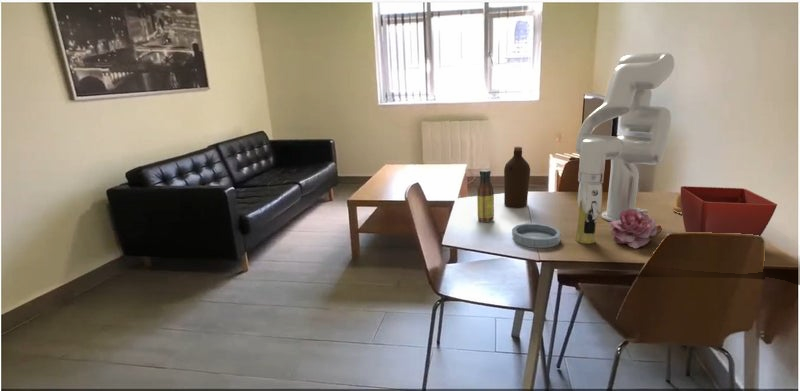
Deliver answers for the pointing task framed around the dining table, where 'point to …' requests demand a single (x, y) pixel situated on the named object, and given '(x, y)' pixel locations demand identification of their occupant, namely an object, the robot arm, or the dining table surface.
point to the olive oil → (516, 180)
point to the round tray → (536, 235)
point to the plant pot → (725, 210)
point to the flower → (634, 228)
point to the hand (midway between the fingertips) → (585, 229)
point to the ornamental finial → (678, 204)
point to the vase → (580, 233)
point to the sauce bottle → (485, 197)
